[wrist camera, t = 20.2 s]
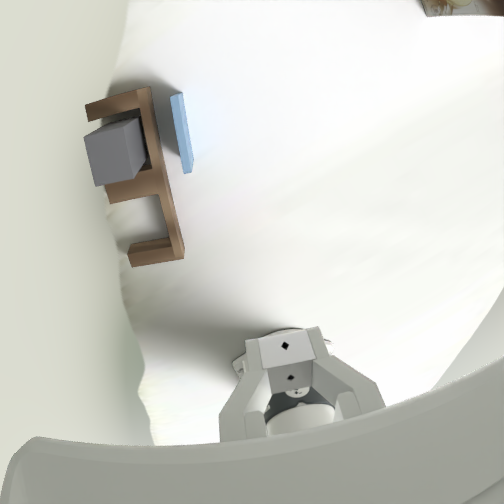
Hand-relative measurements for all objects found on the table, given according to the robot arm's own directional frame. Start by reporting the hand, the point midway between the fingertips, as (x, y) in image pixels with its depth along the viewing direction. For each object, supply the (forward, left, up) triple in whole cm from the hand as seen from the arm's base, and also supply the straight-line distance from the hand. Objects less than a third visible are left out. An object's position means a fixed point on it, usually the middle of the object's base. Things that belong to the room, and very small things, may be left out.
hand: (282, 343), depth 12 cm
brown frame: (0, +10, -27) cm, 29 cm away
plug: (+5, +11, -27) cm, 30 cm away
